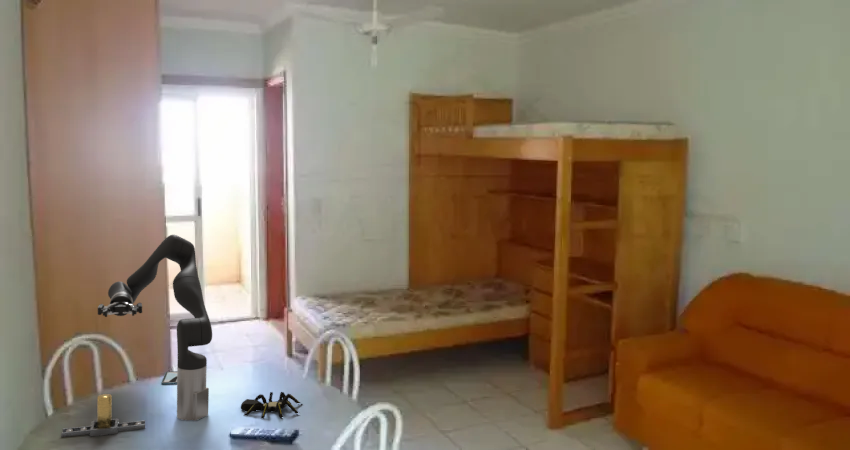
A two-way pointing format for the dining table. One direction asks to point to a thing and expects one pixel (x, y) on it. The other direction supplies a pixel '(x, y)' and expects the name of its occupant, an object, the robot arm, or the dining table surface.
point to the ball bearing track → (103, 431)
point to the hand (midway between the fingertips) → (119, 313)
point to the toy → (268, 404)
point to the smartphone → (170, 378)
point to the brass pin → (104, 411)
